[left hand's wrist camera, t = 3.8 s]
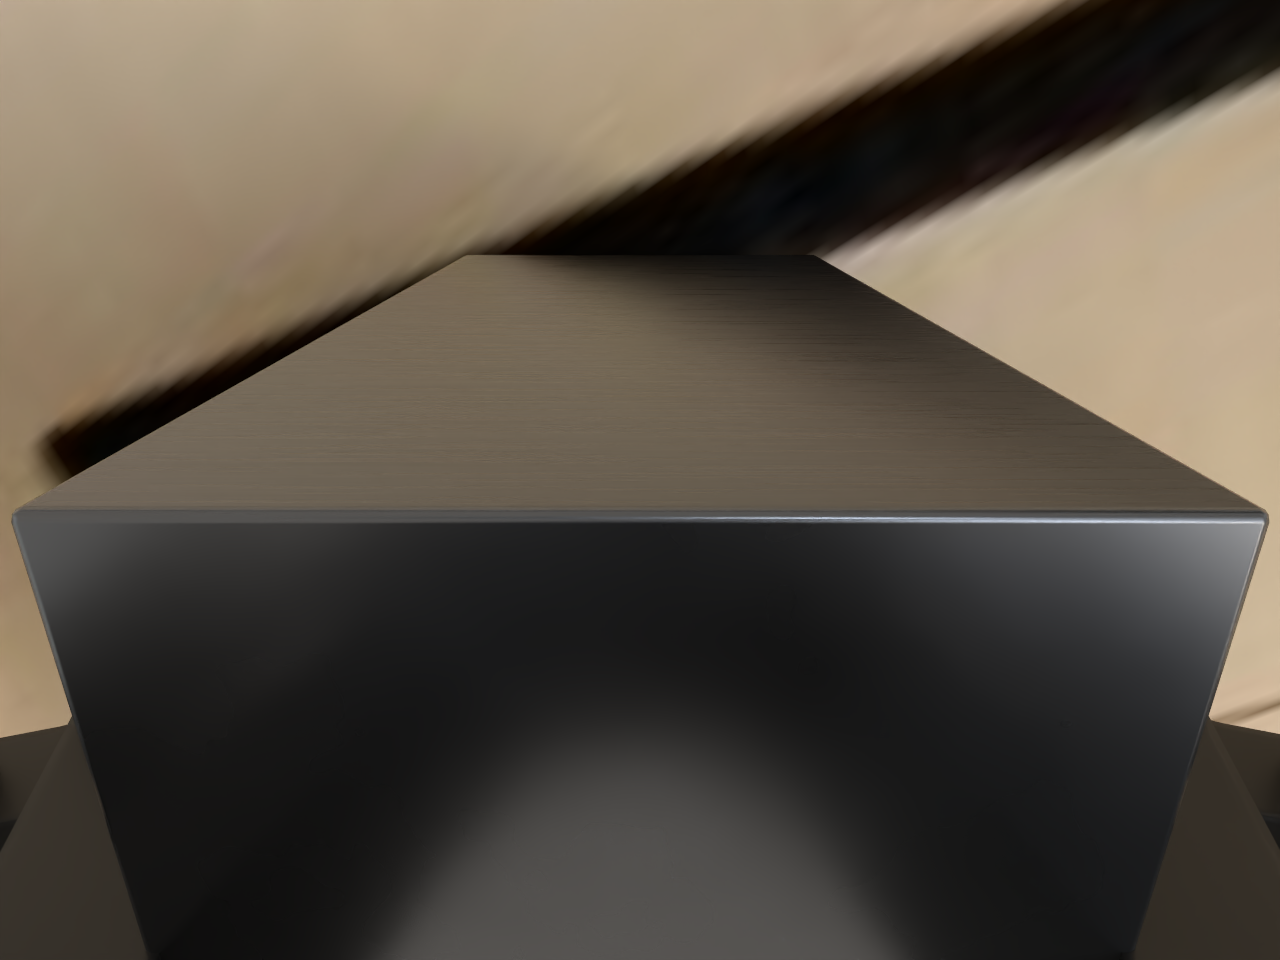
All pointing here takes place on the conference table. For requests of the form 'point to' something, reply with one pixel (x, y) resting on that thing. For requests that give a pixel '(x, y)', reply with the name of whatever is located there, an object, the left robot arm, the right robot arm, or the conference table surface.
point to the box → (640, 633)
